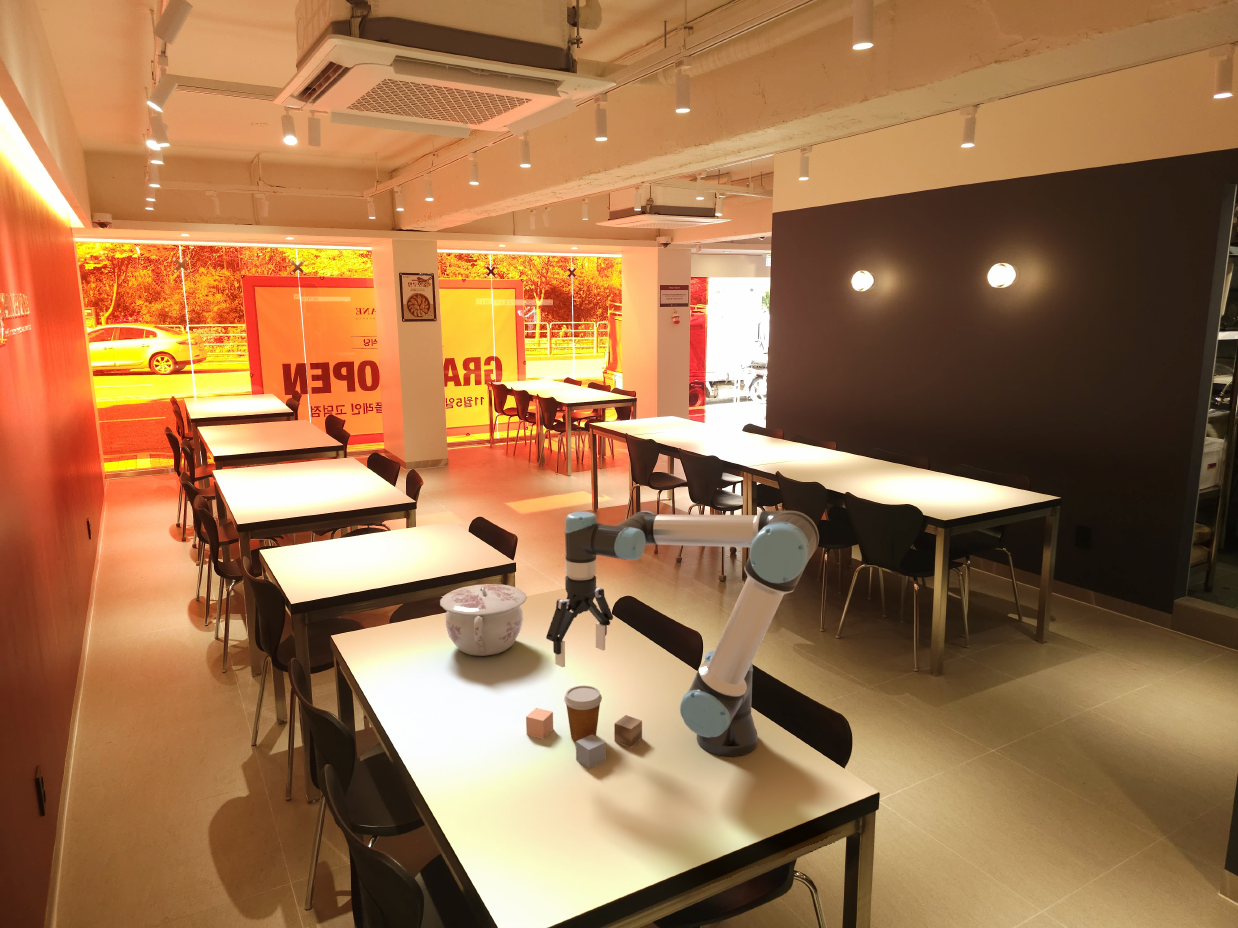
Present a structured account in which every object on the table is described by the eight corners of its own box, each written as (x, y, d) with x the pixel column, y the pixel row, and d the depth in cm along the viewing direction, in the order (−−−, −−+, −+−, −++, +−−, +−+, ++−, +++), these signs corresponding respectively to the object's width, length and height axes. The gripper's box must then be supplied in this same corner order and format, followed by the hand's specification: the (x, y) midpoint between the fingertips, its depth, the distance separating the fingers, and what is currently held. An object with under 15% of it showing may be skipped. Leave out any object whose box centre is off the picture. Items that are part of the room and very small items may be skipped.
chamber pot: (486, 624, 269) (483, 567, 265) (545, 642, 253) (544, 582, 250) (422, 652, 247) (419, 590, 243) (483, 674, 231) (481, 608, 227)
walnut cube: (642, 738, 196) (642, 720, 195) (631, 747, 191) (631, 728, 191) (625, 732, 198) (625, 714, 197) (614, 741, 194) (614, 723, 193)
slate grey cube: (605, 761, 186) (605, 742, 185) (589, 769, 182) (588, 749, 181) (592, 752, 189) (592, 733, 188) (576, 760, 186) (575, 741, 185)
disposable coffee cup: (597, 749, 191) (597, 704, 188) (560, 745, 193) (559, 700, 190) (606, 729, 200) (605, 686, 198) (570, 725, 202) (569, 682, 200)
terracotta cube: (553, 729, 200) (552, 711, 199) (543, 738, 196) (543, 720, 195) (536, 725, 202) (536, 707, 201) (526, 734, 198) (526, 716, 197)
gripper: (606, 560, 200) (606, 637, 204) (531, 583, 182) (532, 667, 186) (627, 567, 194) (626, 646, 199) (551, 591, 177) (552, 677, 181)
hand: (580, 656), depth 192 cm, fingers open, 13 cm apart
